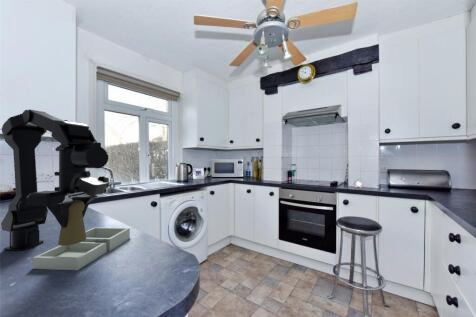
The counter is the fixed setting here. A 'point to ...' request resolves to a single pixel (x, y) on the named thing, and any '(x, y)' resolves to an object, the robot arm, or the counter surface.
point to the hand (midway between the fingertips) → (72, 224)
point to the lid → (70, 256)
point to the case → (108, 236)
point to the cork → (73, 225)
